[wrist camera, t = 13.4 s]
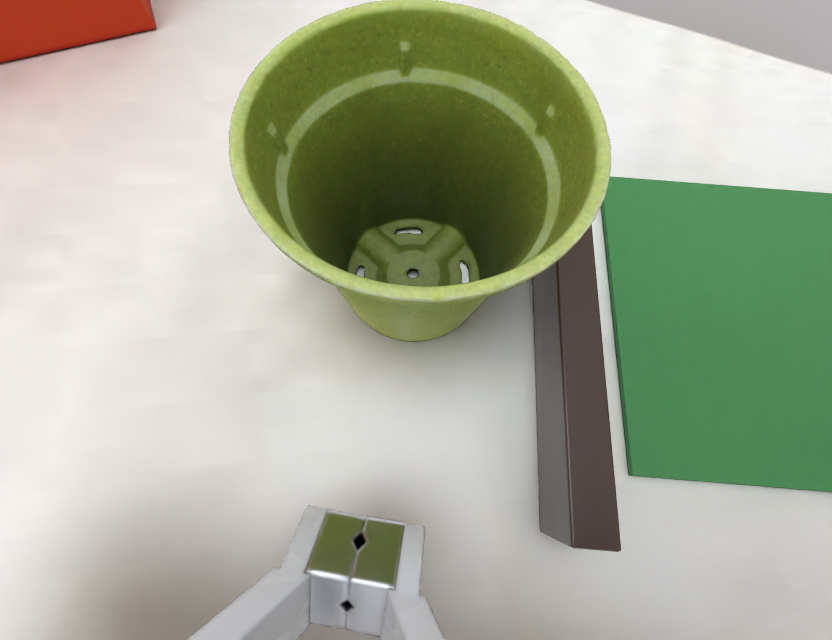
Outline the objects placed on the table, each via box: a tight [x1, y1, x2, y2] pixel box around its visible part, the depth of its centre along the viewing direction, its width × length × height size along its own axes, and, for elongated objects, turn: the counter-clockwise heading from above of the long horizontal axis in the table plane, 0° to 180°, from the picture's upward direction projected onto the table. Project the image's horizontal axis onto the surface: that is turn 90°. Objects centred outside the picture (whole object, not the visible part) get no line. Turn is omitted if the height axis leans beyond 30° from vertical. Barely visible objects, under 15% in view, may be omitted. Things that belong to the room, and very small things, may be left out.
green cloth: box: [601, 177, 832, 492], centre depth 17 cm, size 13×14×1 cm
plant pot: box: [229, 0, 611, 341], centre depth 14 cm, size 9×9×9 cm
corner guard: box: [533, 225, 621, 552], centre depth 16 cm, size 14×18×3 cm
